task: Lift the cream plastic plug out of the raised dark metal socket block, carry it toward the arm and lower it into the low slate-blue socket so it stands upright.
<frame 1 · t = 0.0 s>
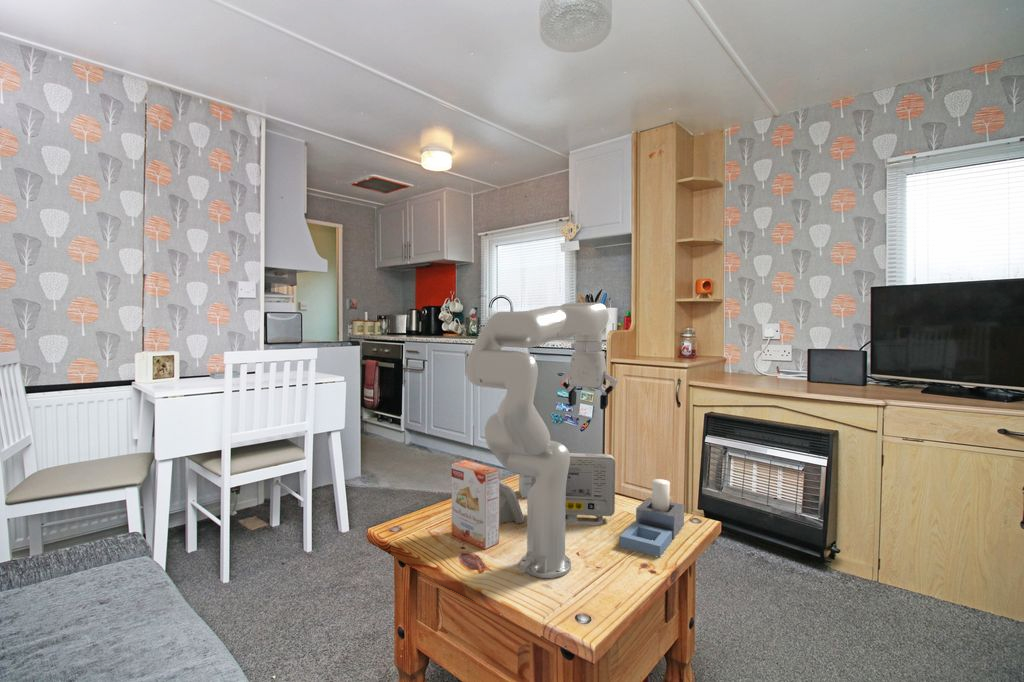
hand: (587, 406, 142), 37 cm above the table, tool pointing down, fingers open, 9 cm apart
cracker box: (474, 540, 138), on the table
supplement box: (530, 494, 175), on the table
plug: (660, 514, 147), point 4 cm above the table, touching upper socket
digital clock: (506, 516, 155), on the table
upper socket: (660, 528, 147), on the table
network device: (572, 519, 154), on the table
lower socket: (646, 544, 136), on the table
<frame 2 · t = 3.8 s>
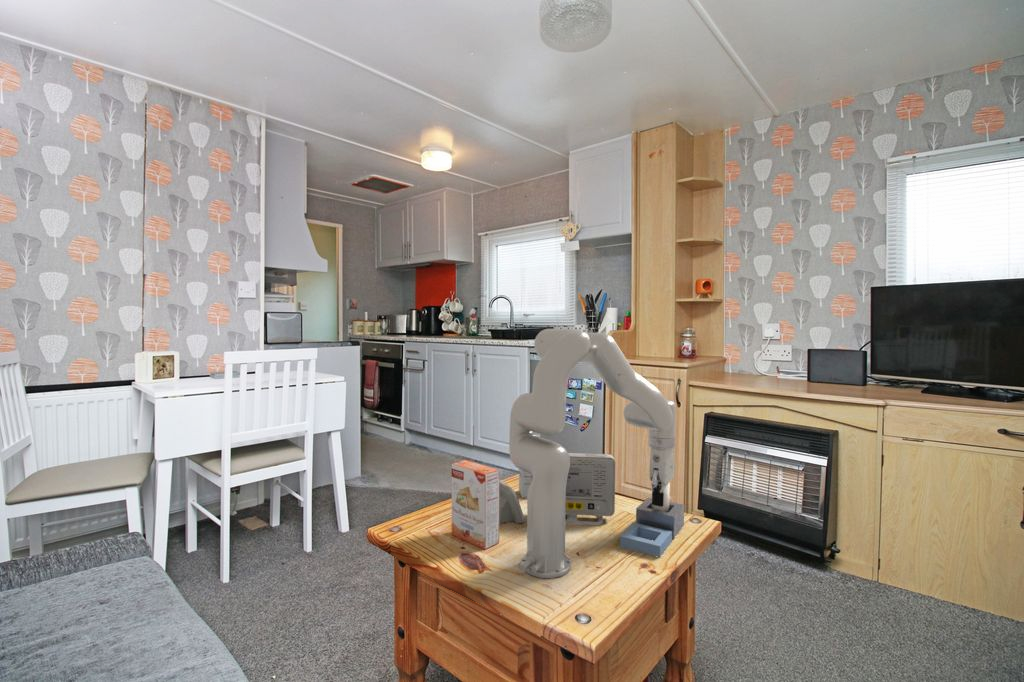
hand: (660, 501, 147), 8 cm above the table, tool pointing down, fingers closed on plug, 4 cm apart
plug: (660, 514, 147), point 4 cm above the table, touching gripper, upper socket
everything else where it was.
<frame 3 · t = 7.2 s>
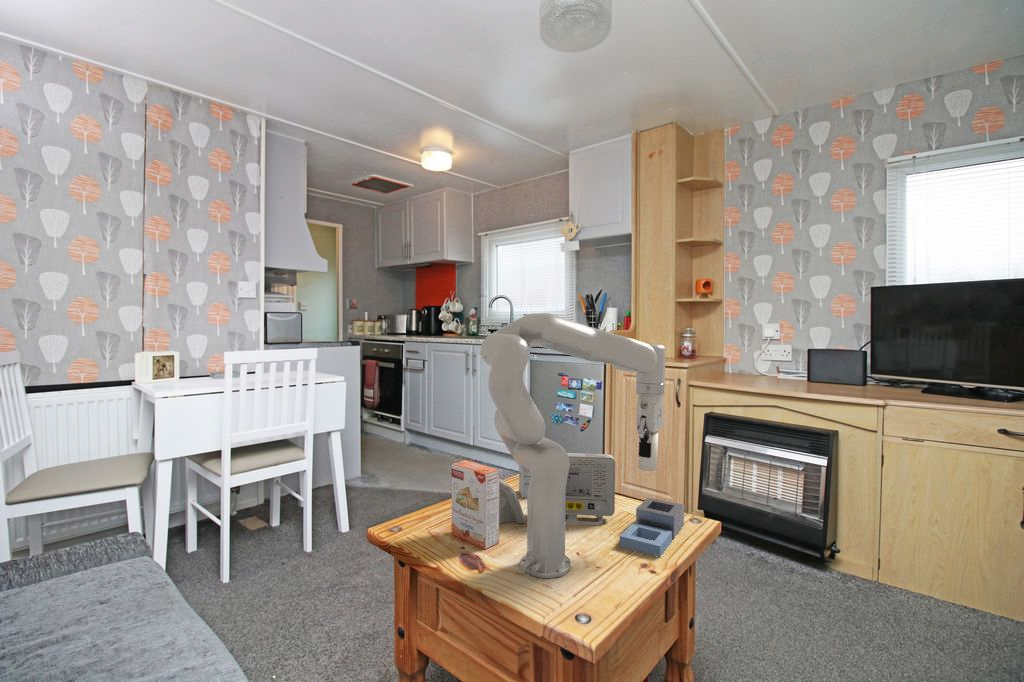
hand: (647, 454, 136), 25 cm above the table, tool pointing down, fingers closed on plug, 4 cm apart
plug: (647, 468, 136), point 21 cm above the table, touching gripper
everything else where it was.
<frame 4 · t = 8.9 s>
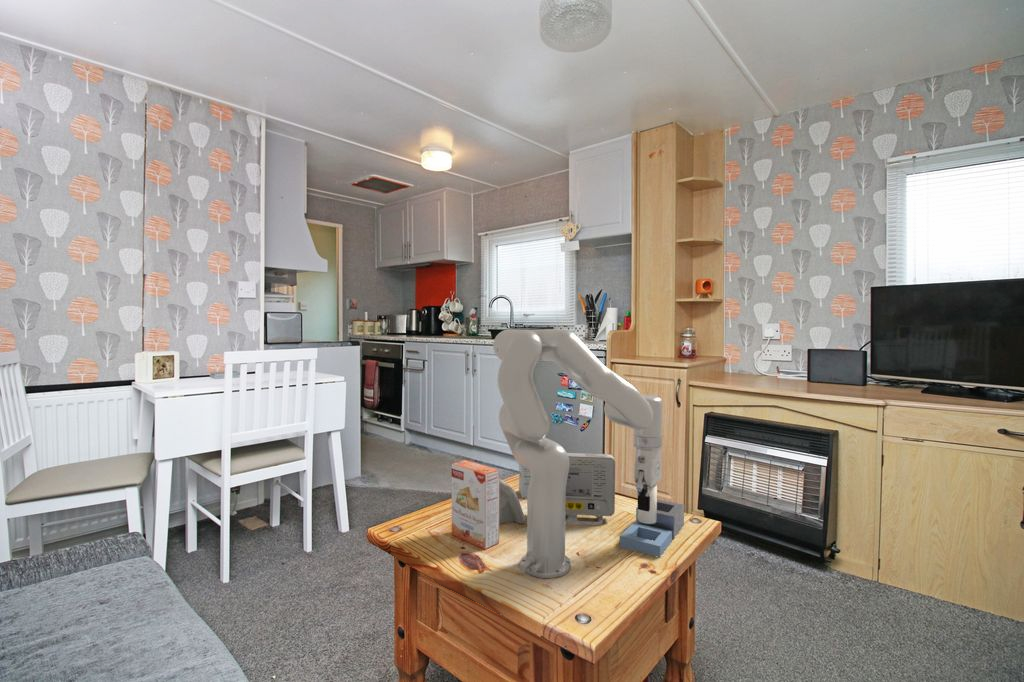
hand: (647, 506, 136), 11 cm above the table, tool pointing down, fingers closed on plug, 4 cm apart
plug: (647, 520, 136), point 7 cm above the table, touching gripper
everything else where it was.
when the fingers open (5 cm above the table, at t = 10.5 s): plug drops 1 cm, resting in lower socket.
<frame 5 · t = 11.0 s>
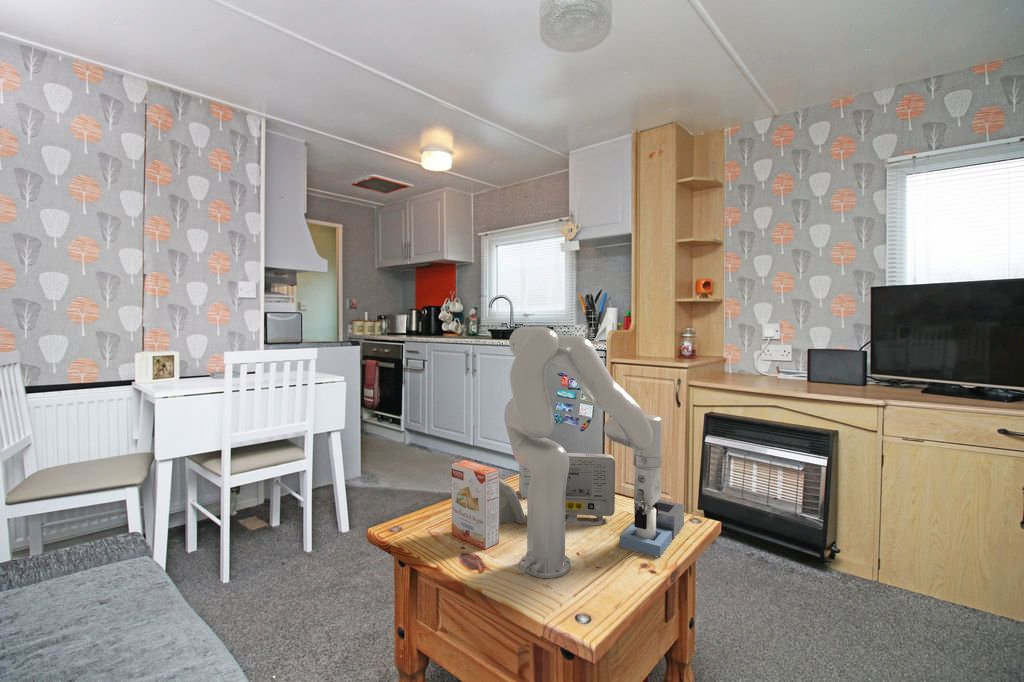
hand: (646, 521, 136), 6 cm above the table, tool pointing down, fingers open, 9 cm apart
plug: (646, 544, 136), resting in lower socket
everything else where it was.
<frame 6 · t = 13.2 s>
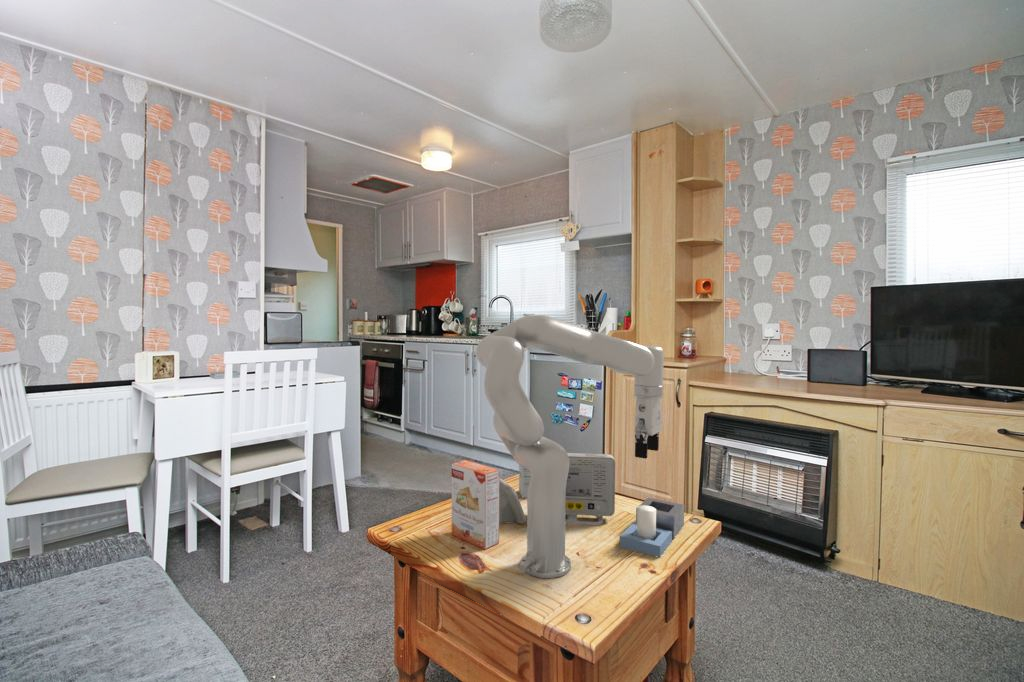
hand: (646, 453, 135), 25 cm above the table, tool pointing down, fingers open, 9 cm apart
nothing on the table moved.
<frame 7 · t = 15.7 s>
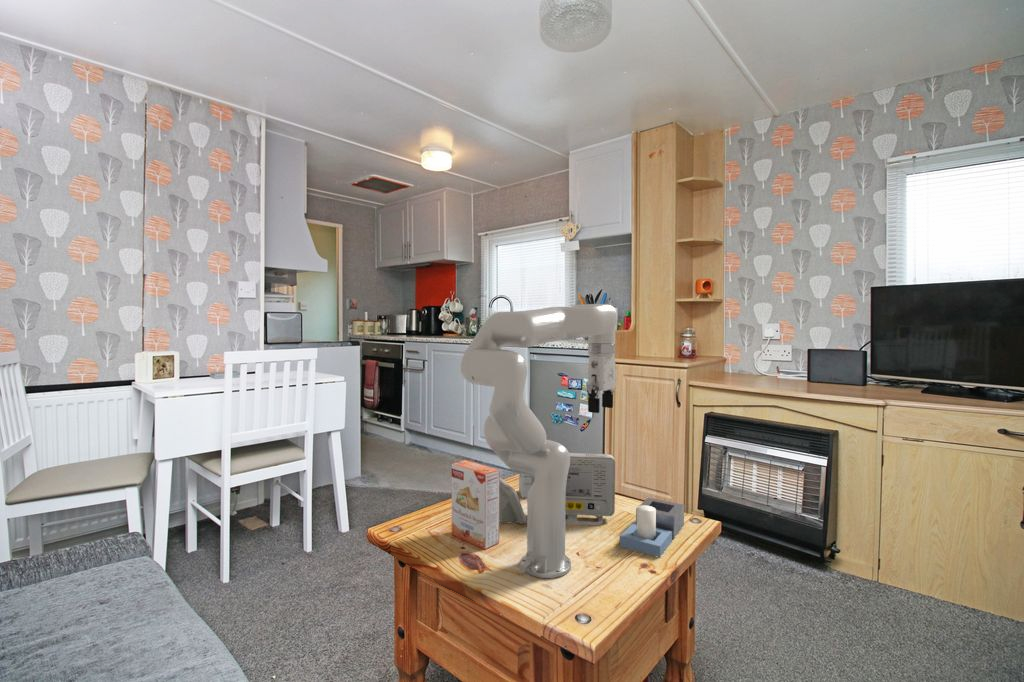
hand: (600, 409, 140), 36 cm above the table, tool pointing down, fingers open, 9 cm apart
nothing on the table moved.
at the end: plug 0.0 cm off-centre on the lower socket, point 0.0 cm above the lower socket's base; plug tilted 1°; the gripper is holding nothing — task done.
